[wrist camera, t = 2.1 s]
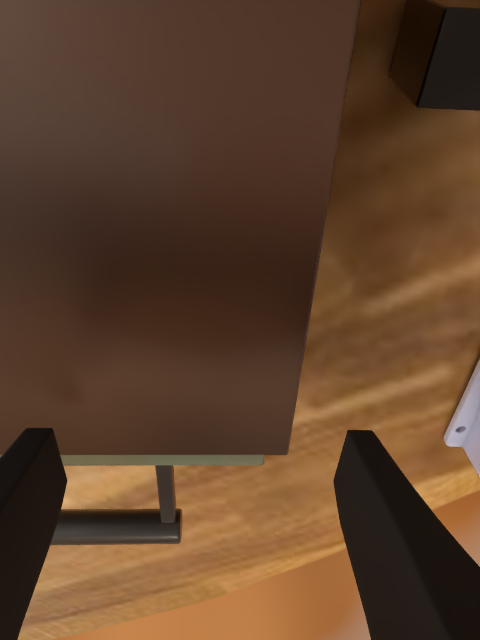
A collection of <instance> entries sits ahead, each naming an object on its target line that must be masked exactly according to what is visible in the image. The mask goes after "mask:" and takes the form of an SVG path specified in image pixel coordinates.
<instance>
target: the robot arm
mask: <svg viewBox="0 0 480 640" xmlns="http://www.w3.org/2000/svg"><path fill="white" fill-rule="evenodd" d="M444 441H445V443H446V445H447V446H450V447H463V449H464V451H465V453H466V454H467V456H468V458H469V460H470V462H471V463H472V465H473V467H474V469H475V471H476V473H477V474H478V476H479V478H480V359H479V361H478V363H477V365H476V368H475V370H474V372H473V374H472V376H471V379H470V381H469V383H468V385H467V387H466V389H465V392H464V394H463V396H462V398H461V400H460V403H459V405H458V407H457V409H456V411H455V414H454V416H453V418H452V420H451V422H450V424H449V427H448V429H447V431H446V433H445V435H444ZM333 481H334V488H335V494H336V501H337V507H338V513H339V519H340V524H341V528H342V532H343V535H344V539H345V543H346V547H347V550H348V554H349V558H350V561H351V565H352V568H353V572H354V576H355V579H356V583H357V587H358V590H359V594H360V598H361V601H362V605H363V608H364V612H365V616H366V620H367V624H368V628H369V633H370V637H371V640H480V567H479V566H478V564H477V563H476V562H475V561H474V560H473V559H472V558H471V557H470V556H469V554H468V553H467V552H466V551H465V550H464V549H463V548H462V546H461V545H460V544H459V543H458V542H457V541H456V539H455V538H454V537H453V536H452V535H451V534H450V533H449V531H448V530H447V529H446V528H445V526H444V525H443V524H442V523H441V522H440V520H439V519H438V518H437V517H436V516H435V514H434V513H433V512H432V510H431V509H430V508H429V507H428V505H427V504H426V503H425V501H424V500H423V499H422V498H421V496H420V495H419V494H418V493H417V491H416V490H415V489H414V487H413V486H412V485H411V483H410V482H409V481H408V479H407V478H406V477H405V475H404V474H403V473H402V471H401V470H400V468H399V467H398V466H397V464H396V463H395V462H394V460H393V459H392V457H391V456H390V455H389V453H388V452H387V450H386V449H385V447H384V446H383V445H382V443H381V442H380V440H379V439H378V437H377V436H376V435H375V433H374V432H373V431H372V430H348V431H347V435H346V438H345V442H344V445H343V449H342V452H341V456H340V459H339V463H338V466H337V470H336V473H335V477H334V480H333ZM66 484H67V477H66V474H65V470H64V467H63V463H62V459H61V456H60V452H59V449H58V445H57V441H56V438H55V434H54V431H53V428H26V429H25V430H24V431H23V432H22V433H21V434H20V435H19V436H18V437H17V439H16V440H15V441H14V442H13V443H12V445H11V446H10V447H9V448H8V449H7V450H6V452H5V453H4V454H3V455H2V456H1V457H0V640H17V639H18V636H19V632H20V629H21V626H22V623H23V620H24V617H25V614H26V612H27V609H28V606H29V603H30V600H31V598H32V595H33V592H34V589H35V586H36V583H37V581H38V578H39V575H40V572H41V569H42V566H43V564H44V561H45V558H46V555H47V552H48V549H49V547H50V544H51V541H52V538H53V535H54V532H55V529H56V526H57V523H58V519H59V515H60V511H61V507H62V503H63V498H64V493H65V489H66Z"/></svg>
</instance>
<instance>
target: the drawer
mask: <svg viewBox="0 0 480 640" xmlns="http://www.w3.org/2000/svg"><path fill="white" fill-rule="evenodd" d="M1 456H2V455H0V457H1ZM60 456H61V459H62V463H63V465H155V466H156V476H157V485H158V495H159V504H160V509H61V511H60V515H59V519H58V523H57V526H56V529H55V532H54V535H53V538H52V541H51V544H50V545H114V544H179V543H180V542H181V535H182V510H181V509H176V499H175V484H174V469H173V465H263V464H264V456H265V455H60Z"/></svg>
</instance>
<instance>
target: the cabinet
mask: <svg viewBox="0 0 480 640" xmlns="http://www.w3.org/2000/svg"><path fill="white" fill-rule="evenodd" d="M360 4H361V0H0V455H3V454H4V453H5V452H6V450H7V449H8V448H9V447H10V446H11V445H12V443H13V442H14V441H15V440H16V439H17V437H18V436H19V435H20V434H21V433H22V432H23V431H24V430H25V429H26V428H53V431H54V434H55V438H56V441H57V445H58V449H59V452H60V455H287V454H288V450H289V444H290V437H291V431H292V425H293V419H294V413H295V406H296V400H297V394H298V388H299V382H300V375H301V369H302V363H303V357H304V351H305V345H306V338H307V332H308V326H309V320H310V314H311V307H312V301H313V295H314V289H315V283H316V276H317V270H318V264H319V258H320V252H321V246H322V239H323V233H324V227H325V221H326V215H327V208H328V202H329V196H330V190H331V184H332V178H333V171H334V165H335V159H336V153H337V147H338V140H339V134H340V128H341V122H342V116H343V109H344V103H345V97H346V91H347V85H348V79H349V72H350V66H351V60H352V54H353V48H354V41H355V35H356V29H357V23H358V17H359V10H360Z"/></svg>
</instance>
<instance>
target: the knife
mask: <svg viewBox="0 0 480 640" xmlns="http://www.w3.org/2000/svg"><path fill="white" fill-rule="evenodd" d="M389 78H390V79H391V80H392V81H393V82H394V83H395V84H396V85H397V87H398V88H399V89H400V90H401V91H402V92H403V93H404V94H405V95H406V96H407V97H408V99H409V100H410V101H411V102H412V103H413V104H414V105H415V106H416V107H417V108H431V109H453V110H475V111H480V0H407V4H406V8H405V12H404V16H403V21H402V25H401V29H400V33H399V37H398V41H397V45H396V49H395V53H394V57H393V61H392V65H391V69H390V74H389Z"/></svg>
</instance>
